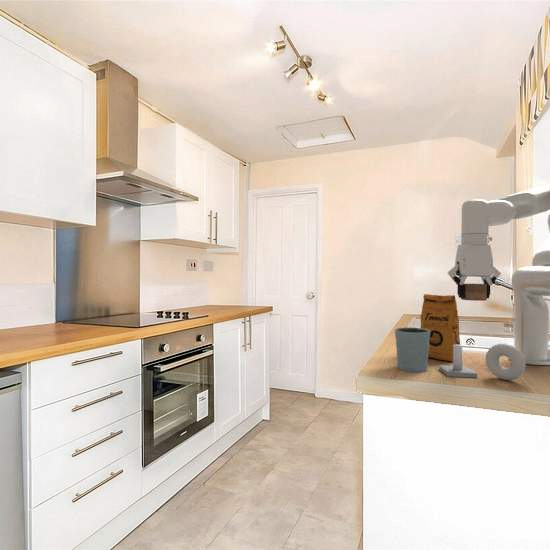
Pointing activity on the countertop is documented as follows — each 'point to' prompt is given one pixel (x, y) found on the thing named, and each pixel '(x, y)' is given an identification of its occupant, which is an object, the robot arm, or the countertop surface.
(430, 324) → the coffee package
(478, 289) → the ring
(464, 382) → the countertop surface
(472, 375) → the peg stand
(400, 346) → the blue grey cup
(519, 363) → the donut
